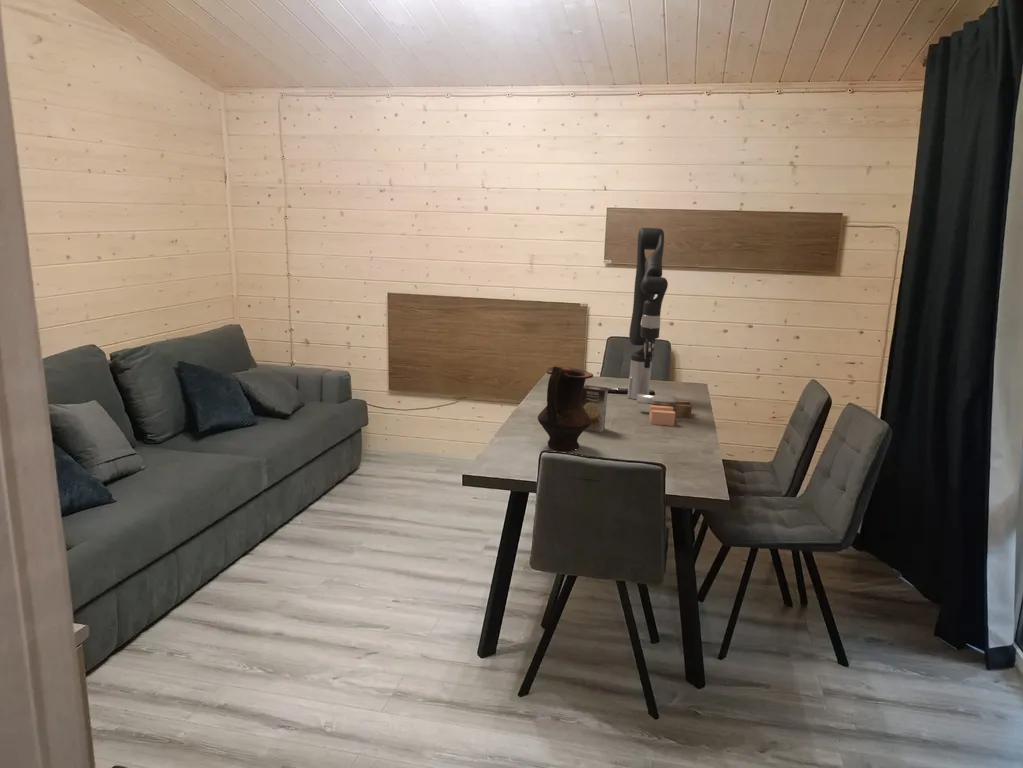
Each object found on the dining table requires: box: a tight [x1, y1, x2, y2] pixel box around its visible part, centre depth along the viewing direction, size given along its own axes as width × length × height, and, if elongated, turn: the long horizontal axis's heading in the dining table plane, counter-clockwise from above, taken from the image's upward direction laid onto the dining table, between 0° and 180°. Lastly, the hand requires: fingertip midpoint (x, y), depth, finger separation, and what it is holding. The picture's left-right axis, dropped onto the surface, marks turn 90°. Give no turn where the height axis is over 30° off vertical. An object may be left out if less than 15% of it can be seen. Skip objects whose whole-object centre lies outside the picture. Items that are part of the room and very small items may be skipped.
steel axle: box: [636, 394, 677, 406], centre depth 302 cm, size 16×4×4 cm, turn 82°
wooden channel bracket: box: [652, 400, 693, 419], centre depth 302 cm, size 16×9×5 cm, turn 83°
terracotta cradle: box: [648, 404, 676, 427], centre depth 290 cm, size 9×11×5 cm
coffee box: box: [581, 384, 609, 433], centre depth 274 cm, size 9×6×16 cm
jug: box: [537, 364, 594, 452], centre depth 247 cm, size 21×18×30 cm
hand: (646, 367), depth 300 cm, fingers closed
